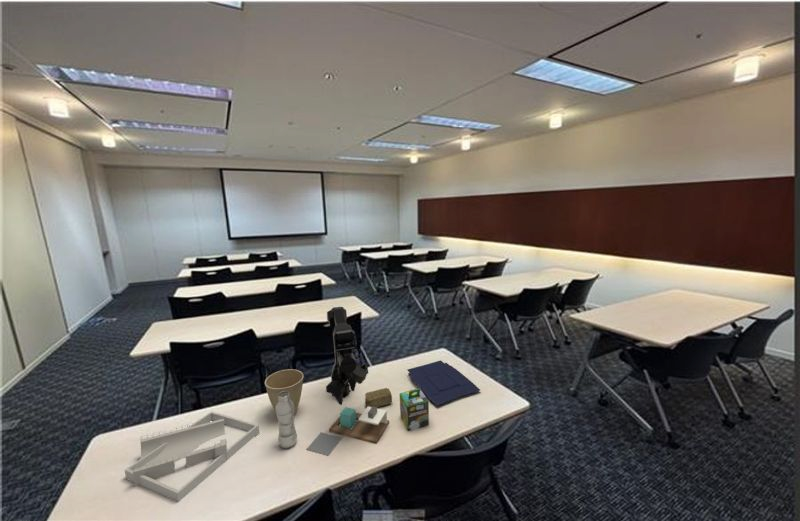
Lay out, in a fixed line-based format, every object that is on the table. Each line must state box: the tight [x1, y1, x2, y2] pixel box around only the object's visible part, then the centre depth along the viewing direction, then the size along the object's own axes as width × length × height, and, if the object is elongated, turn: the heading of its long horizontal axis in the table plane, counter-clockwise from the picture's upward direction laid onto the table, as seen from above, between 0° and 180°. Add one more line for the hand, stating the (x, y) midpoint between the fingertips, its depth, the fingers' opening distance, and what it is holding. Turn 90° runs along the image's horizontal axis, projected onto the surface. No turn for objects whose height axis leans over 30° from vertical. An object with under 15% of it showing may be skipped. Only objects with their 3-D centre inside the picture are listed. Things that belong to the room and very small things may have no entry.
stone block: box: [364, 387, 393, 408], centre depth 136 cm, size 6×12×5 cm, turn 107°
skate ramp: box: [133, 416, 228, 487], centre depth 107 cm, size 25×19×10 cm
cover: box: [358, 406, 388, 425], centre depth 119 cm, size 8×8×7 cm
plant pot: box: [264, 368, 304, 416], centre depth 131 cm, size 15×15×16 cm
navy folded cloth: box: [406, 359, 481, 406], centre depth 151 cm, size 24×30×4 cm
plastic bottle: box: [275, 391, 298, 449], centre depth 113 cm, size 6×7×20 cm
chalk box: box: [399, 387, 430, 432], centre depth 124 cm, size 9×9×15 cm
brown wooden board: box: [328, 412, 390, 445], centre depth 122 cm, size 20×12×2 cm, turn 69°
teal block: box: [339, 406, 357, 429], centre depth 124 cm, size 4×4×6 cm
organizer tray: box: [124, 410, 260, 502], centre depth 110 cm, size 25×31×4 cm
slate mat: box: [306, 431, 342, 457], centre depth 114 cm, size 9×9×1 cm
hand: (347, 397), depth 122 cm, fingers open, 9 cm apart
